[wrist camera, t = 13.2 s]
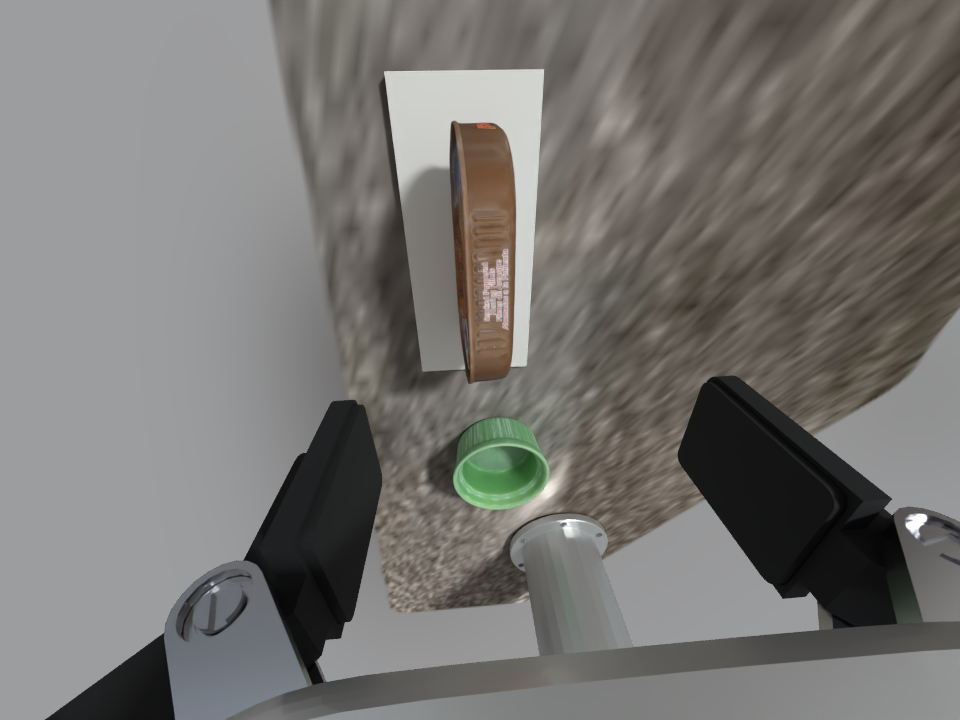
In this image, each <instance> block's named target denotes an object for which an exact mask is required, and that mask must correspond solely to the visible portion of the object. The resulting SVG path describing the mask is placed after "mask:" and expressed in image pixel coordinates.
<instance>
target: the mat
mask: <svg viewBox="0 0 960 720" xmlns="http://www.w3.org/2000/svg"><path fill="white" fill-rule="evenodd" d="M384 74H385V82H386V90H387V97H388V105H389V113H390V121H391V129H392V137H393V144H394V152H395V160H396V168H397V176H398V184H399V191H400V199H401V207H402V215H403V223H404V231H405V238H406V246H407V254H408V262H409V270H410V278H411V285H412V293H413V301H414V309H415V317H416V325H417V332H418V340H419V348H420V356H421V364H422V372H425V371H444V370H463V369H465V363H464V357H463V350H462V343H461V334H460V324H459V313H458V300H457V286H456V268H455V252H454V235H453V220H452V204H451V185H450V164H449V154H450V129H451V122H452V121H457V122H458V123H495V124H497V125H498V126H499V127H500V128H502V129H503V130H504V132H505V133H506V135H507V138H508V141H509V145H510V149H511V153H512V159H513V167H514V175H515V190H516V253H515V303H514V331H513V354H512V362H511V367H519V366H527V351H528V334H529V317H530V300H531V283H532V266H533V249H534V232H535V215H536V198H537V181H538V164H539V147H540V130H541V113H542V96H543V79H544V69H532V70H458V71H384Z"/></svg>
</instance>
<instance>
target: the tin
mask: <svg viewBox="0 0 960 720" xmlns="http://www.w3.org/2000/svg"><path fill="white" fill-rule="evenodd" d="M449 164H450V185H451V204H452V220H453V235H454V252H455V268H456V286H457V300H458V313H459V324H460V334H461V343H462V350H463V357H464V363H465V371H466V376H467V380H468V383H469V384H472V383H473V382H479V381H489V380H497V379H502V378H504V377H506V376H507V375H508V373H509V371H510V367H511V362H512V354H513V331H514V303H515V253H516V190H515V175H514V167H513V159H512V153H511V149H510V145H509V141H508V138H507V135H506V133H505V132H504V130H503V129H502V128H500V127H499V126H498V125H497V124H495V123H458V122H457V121H452V122H451V129H450V154H449Z"/></svg>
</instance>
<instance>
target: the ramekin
mask: <svg viewBox="0 0 960 720" xmlns="http://www.w3.org/2000/svg"><path fill="white" fill-rule="evenodd" d="M548 478H549V466H548V463H547V461H546V459H545V457H544V456H543V454H542V453H541V451H540V449H539V446H538V444H537V441H536V439H535V437H534V435H533V433H532V432H531V430H530V429H529V428H528V427H527V426H526V425H524V424H523V423H521V422H519V421H517V420H514V419H510V418H502V417H497V418H489V419H485V420H482V421H480V422H477V423H476V424H474V425H472V426H471V427H469V428H468V429H467V430H466V431H465V433H464V434H463V435H462V437H461V438H460V441H459V444H458V449H457V461H456V466H455V469H454V473H453V484H454V487H455V490H456V491H457V493H458V494H459V495H460V497H461V498H463V499H464V500H465V501H467V502H468V503H470V504H472V505H474V506H477V507H480V508H485V509H494V510H500V509H509V508H513V507H517V506H519V505H522V504H524V503H526V502H528V501H530V500H532V499H533V498H535V497H536V496H537V495H538V494H539V493H540V492H541V491H542V490H543V489H544V487H545V486H546V484H547V481H548Z"/></svg>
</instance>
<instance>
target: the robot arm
mask: <svg viewBox="0 0 960 720" xmlns="http://www.w3.org/2000/svg"><path fill="white" fill-rule="evenodd" d="M678 460H679V463H680V464H681V466H682V467H683V469H684V470H685V471H686V473H687V474H688V476H689V477H690V478H691V480H692V481H693V482H694V484H695V485H696V487H697V488H698V489H699V491H700V492H701V493H702V495H703V496H704V498H705V499H706V500H707V502H708V503H709V504H710V506H711V507H712V509H713V510H714V511H715V513H716V514H717V516H718V517H719V518H720V520H721V521H722V522H723V524H724V525H725V526H726V528H727V529H728V530H729V532H730V533H731V535H732V536H733V538H734V539H735V540H736V542H737V543H738V544H739V546H740V547H741V549H742V550H743V551H744V553H745V554H746V555H747V557H748V558H749V560H750V561H751V562H752V564H753V565H754V566H755V568H756V569H757V571H758V572H759V573H760V575H761V576H762V577H763V578H764V580H766V581H767V582H768V583H770V584H773V586H774V587H775V589H776V590H777V591H778V593H779V594H780V595H781V597H782V598H783V599H784V598H796V597H805V596H807V594H808V593H809V592H811V593H812V595H813V596H814V597H815V598H816V599H817V604H818V618H819V630H817V631H806V632H795V633H783V634H773V635H760V636H750V637H738V638H728V639H716V640H706V641H694V642H684V643H673V644H664V645H663V644H662V645H652V646H642V647H634V646H633V644H632V641H631V638H630V635H629V633H628V630H627V627H626V624H625V622H624V619H623V616H622V614H621V611H620V608H619V605H618V602H617V600H616V597H615V594H614V591H613V589H612V586H611V583H610V581H609V578H608V575H607V572H606V570H605V567H604V564H603V561H602V558H601V556H602V554H603V553H604V552H605V549H606V547H607V542H608V540H607V535H606V533H605V531H604V528H603V527H602V525H601V524H600V523H599V522H597V521H596V520H595V519H593V518H590V517H588V516H584V515H580V514H571V513H565V514H555V515H549V516H546V517H542V518H539V519H537V520H534V521H532V522H530V523H529V524H527V525H525V526H524V527H523V528H521V529H520V530H519V531H518V532H517V533H516V534H515V535H514V536H513V538H512V540H511V542H510V547H509V549H510V557H511V560H512V562H513V564H514V565H515V566H516V567H517V568H519V569H520V570H522V571H524V572H525V573H526V579H527V585H528V591H529V596H530V602H531V608H532V614H533V619H534V626H535V631H536V637H537V643H538V649H539V655H540V656H538V657H527V658H518V659H508V660H498V661H487V662H477V663H468V664H457V665H449V666H439V667H431V668H423V669H414V670H406V671H398V672H389V673H381V674H372V675H364V676H359V677H353V678H347V679H342V680H336V681H331V682H326V680H325V677H324V675H323V673H322V671H321V668H320V666H319V664H318V661H317V659H318V658H319V657H320V656H321V655H322V652H323V648H324V644H325V640H329V639H339V638H341V635H342V631H343V627H344V623H345V622H350V621H351V620H352V618H353V615H354V611H355V607H356V602H357V598H358V593H359V589H360V584H361V579H362V574H363V570H364V565H365V561H366V556H367V551H368V547H369V542H370V537H371V533H372V529H373V524H374V519H375V515H376V510H377V506H378V501H379V496H380V492H381V487H382V473H381V469H380V465H379V461H378V457H377V453H376V449H375V445H374V442H373V438H372V434H371V430H370V426H369V422H368V418H367V414H366V410H365V407H364V405H358V404H357V402H356V400H344V401H333V402H332V403H331V404H330V406H329V408H328V410H327V412H326V414H325V416H324V418H323V420H322V422H321V424H320V426H319V428H318V430H317V432H316V434H315V436H314V438H313V440H312V443H311V445H310V447H309V449H308V451H307V453H302V454H300V455H299V456H298V457H297V459H296V460H295V462H294V464H293V466H292V467H291V470H290V472H289V473H288V475H287V477H286V479H285V481H284V483H283V485H282V487H281V489H280V491H279V493H278V495H277V496H276V498H275V500H274V502H273V504H272V506H271V508H270V510H269V512H268V514H267V516H266V518H265V520H264V522H263V524H262V526H261V528H260V529H259V532H258V533H257V535H256V537H255V539H254V541H253V543H252V545H251V547H250V549H249V551H248V553H247V555H246V557H245V559H244V560H243V561H234V562H230V563H226V564H223V565H220V566H218V567H216V568H214V569H213V570H211V571H209V572H207V573H206V574H204V575H203V576H202V577H200V578H199V579H198V580H196V581H195V582H194V583H193V584H192V585H191V586H190V587H189V588H188V589H187V590H186V591H185V592H184V593H183V594H182V595H181V596H180V598H179V599H178V601H177V602H176V604H175V605H174V606H173V608H172V609H171V611H170V614H169V616H168V619H167V621H166V623H165V632H164V633H163V634H162V635H161V636H159V637H158V638H156V639H155V640H154V641H152V642H151V643H150V644H148V645H147V646H146V647H144V648H143V649H141V650H140V651H139V652H137V653H136V654H135V655H133V656H132V657H131V658H129V659H128V660H126V661H125V662H124V663H122V664H121V665H119V666H118V667H117V668H115V669H114V670H113V671H111V672H110V673H109V674H107V675H106V676H104V677H103V678H102V679H100V680H99V681H98V682H96V683H95V684H93V685H92V686H91V687H89V688H88V689H87V690H85V691H84V692H82V693H81V694H80V695H78V696H77V697H76V698H74V699H73V700H72V701H70V702H69V703H68V704H66V705H65V706H63V707H62V708H60V709H59V710H58V711H56V712H55V713H54V714H52V715H51V716H50V717H49V718H47V719H45V720H960V522H959V521H957V520H955V519H952V518H950V517H948V516H945V515H943V514H940V513H938V512H934V511H931V510H927V509H923V508H917V507H905V508H899V509H898V510H897V511H896V512H895V513H894V514H893V515H891V514H890V513H888V512H887V511H886V510H885V509H884V508H885V506H886V505H887V504H888V503H889V502H890V501H891V500H892V498H890V497H889V496H888V495H887V494H885V493H884V492H883V491H882V490H880V489H879V488H878V487H876V486H875V485H874V484H873V483H871V482H870V481H869V480H868V479H866V478H865V477H864V476H863V475H861V474H860V473H859V472H857V471H856V470H855V469H854V468H852V467H851V466H850V465H849V464H847V463H846V462H845V461H843V460H842V459H841V458H840V457H838V456H837V455H836V454H835V453H833V452H832V451H831V450H829V449H828V448H827V447H826V446H825V445H823V444H822V443H821V442H819V441H818V440H817V439H816V438H814V437H813V436H812V435H811V434H809V433H808V432H807V431H806V430H804V429H803V428H802V427H801V426H799V425H798V424H797V423H795V422H794V421H793V420H792V419H790V418H789V417H788V416H787V415H785V414H784V413H783V412H782V411H780V410H779V409H778V408H777V407H775V406H774V405H773V404H771V403H770V402H769V401H768V400H766V399H765V398H764V397H763V396H761V395H760V394H759V393H758V392H756V391H755V390H754V389H752V388H751V387H750V386H749V385H747V384H746V383H745V382H744V381H742V380H741V379H740V378H738V377H736V376H720V377H712V378H710V379H709V380H708V381H707V383H704V384H703V385H702V387H701V390H700V392H699V395H698V398H697V401H696V404H695V406H694V409H693V412H692V415H691V417H690V420H689V423H688V426H687V428H686V431H685V434H684V437H683V439H682V442H681V445H680V448H679V450H678Z"/></svg>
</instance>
